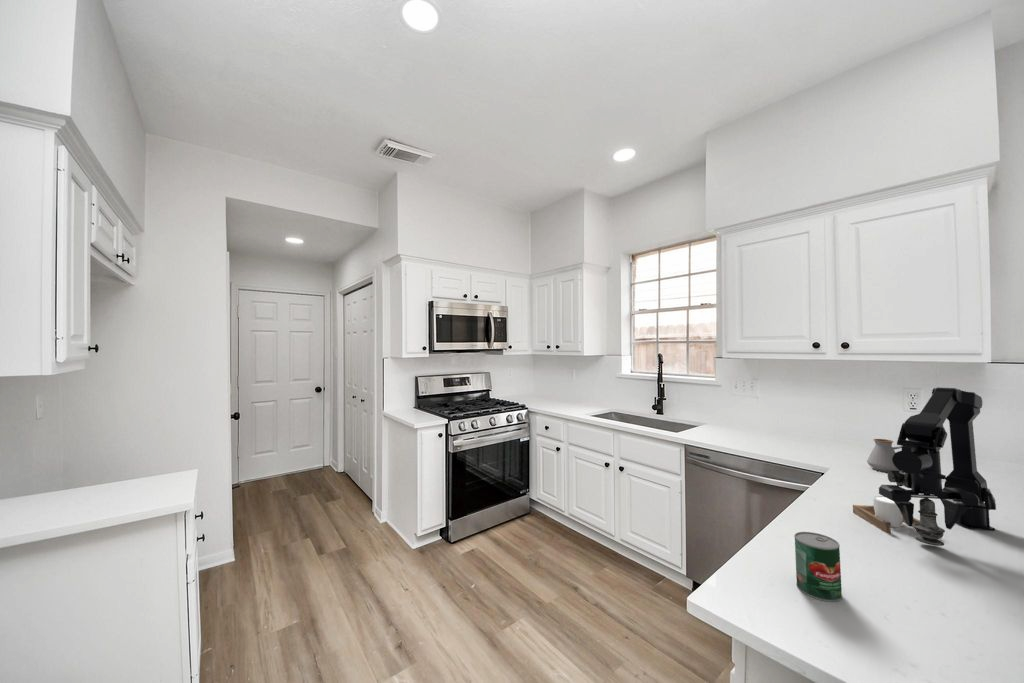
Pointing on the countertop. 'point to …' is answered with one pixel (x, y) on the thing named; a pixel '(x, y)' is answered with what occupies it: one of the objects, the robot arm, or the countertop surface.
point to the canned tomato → (818, 566)
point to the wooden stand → (869, 516)
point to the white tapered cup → (887, 510)
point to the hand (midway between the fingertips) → (928, 527)
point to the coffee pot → (882, 455)
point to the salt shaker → (928, 524)
